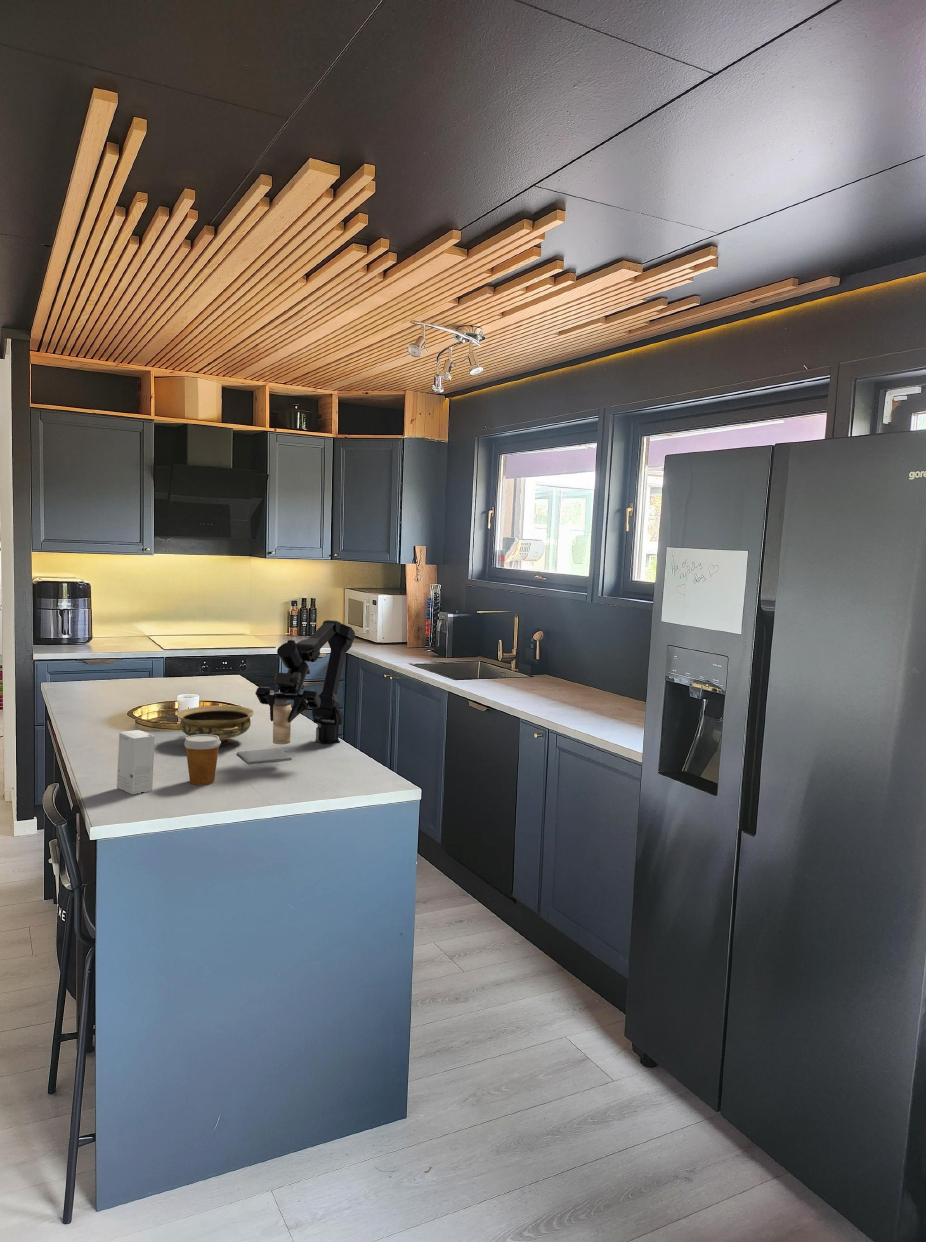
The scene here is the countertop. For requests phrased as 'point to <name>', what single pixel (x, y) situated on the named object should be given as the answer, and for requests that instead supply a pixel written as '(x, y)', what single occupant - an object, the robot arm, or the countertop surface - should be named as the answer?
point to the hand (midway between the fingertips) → (279, 721)
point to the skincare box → (135, 761)
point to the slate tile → (264, 755)
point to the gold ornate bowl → (216, 721)
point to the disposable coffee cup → (202, 757)
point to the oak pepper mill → (281, 722)
